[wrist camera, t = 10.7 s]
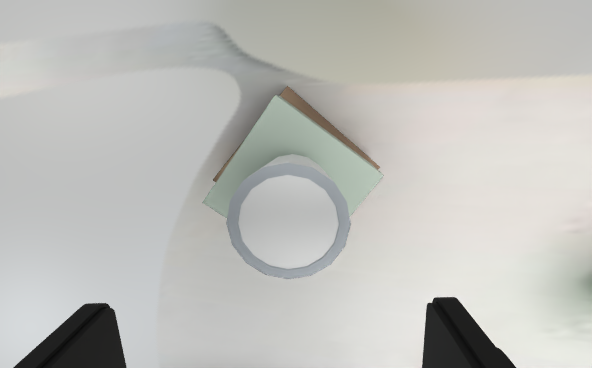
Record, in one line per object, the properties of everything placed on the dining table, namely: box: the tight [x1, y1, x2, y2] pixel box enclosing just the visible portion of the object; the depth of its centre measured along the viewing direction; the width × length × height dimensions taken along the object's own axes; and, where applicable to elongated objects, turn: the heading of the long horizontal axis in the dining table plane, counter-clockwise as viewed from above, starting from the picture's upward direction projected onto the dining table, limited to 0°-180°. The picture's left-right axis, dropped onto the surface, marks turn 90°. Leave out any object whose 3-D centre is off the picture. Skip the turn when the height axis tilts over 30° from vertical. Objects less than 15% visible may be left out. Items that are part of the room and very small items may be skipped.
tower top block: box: [203, 95, 384, 218], centre depth 26 cm, size 10×10×5 cm
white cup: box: [227, 154, 351, 279], centre depth 20 cm, size 7×7×7 cm
